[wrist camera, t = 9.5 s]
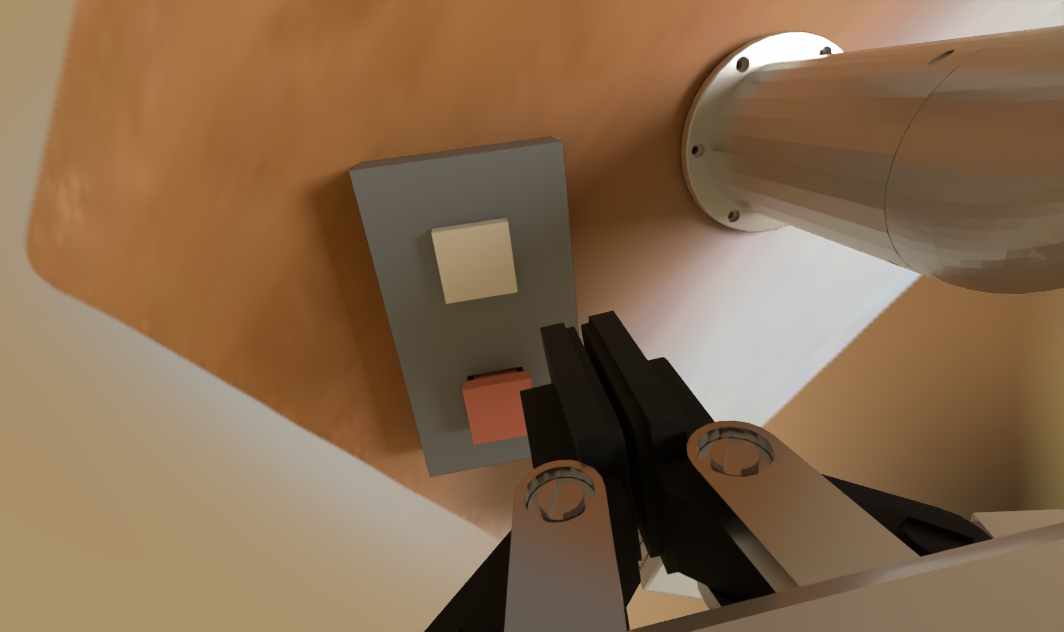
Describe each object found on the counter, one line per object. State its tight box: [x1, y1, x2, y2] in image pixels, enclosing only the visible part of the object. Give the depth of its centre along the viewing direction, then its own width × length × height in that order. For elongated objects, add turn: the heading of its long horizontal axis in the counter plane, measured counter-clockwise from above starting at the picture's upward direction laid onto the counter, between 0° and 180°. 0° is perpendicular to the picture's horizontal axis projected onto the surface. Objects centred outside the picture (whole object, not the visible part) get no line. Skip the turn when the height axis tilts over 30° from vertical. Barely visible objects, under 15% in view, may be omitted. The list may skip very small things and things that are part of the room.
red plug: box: [462, 368, 532, 445], centre depth 34 cm, size 4×4×4 cm
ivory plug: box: [431, 218, 518, 304], centre depth 31 cm, size 4×4×4 cm
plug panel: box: [349, 137, 579, 477], centre depth 34 cm, size 12×22×4 cm, turn 7°
